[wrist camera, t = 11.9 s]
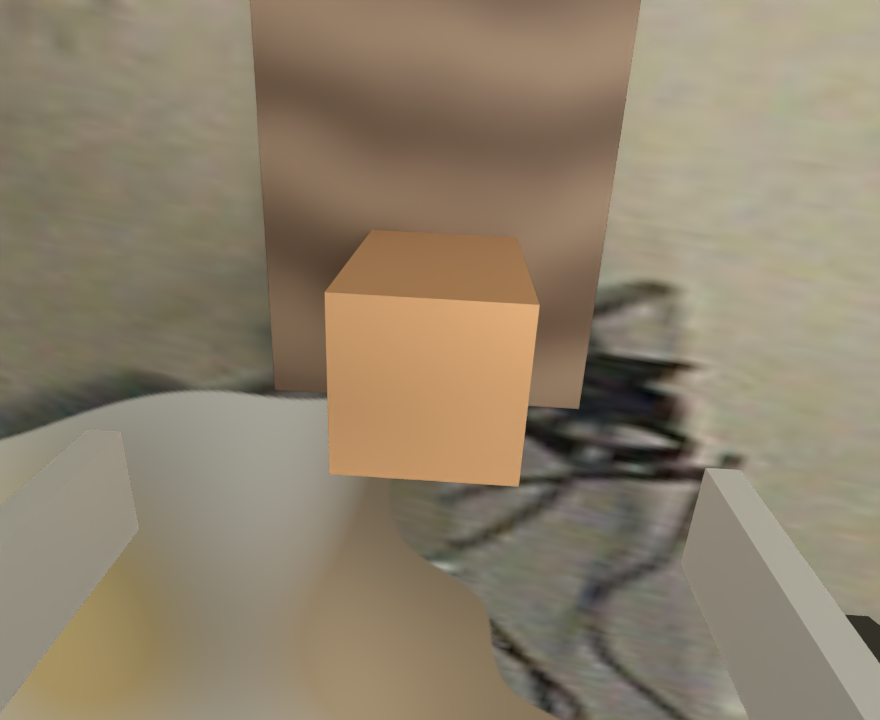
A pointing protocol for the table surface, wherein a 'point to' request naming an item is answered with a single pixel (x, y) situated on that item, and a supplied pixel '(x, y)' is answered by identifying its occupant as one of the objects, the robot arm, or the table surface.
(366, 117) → the walnut board
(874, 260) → the table surface
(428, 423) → the upright tan block
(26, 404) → the table surface
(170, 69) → the table surface
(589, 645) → the table surface
